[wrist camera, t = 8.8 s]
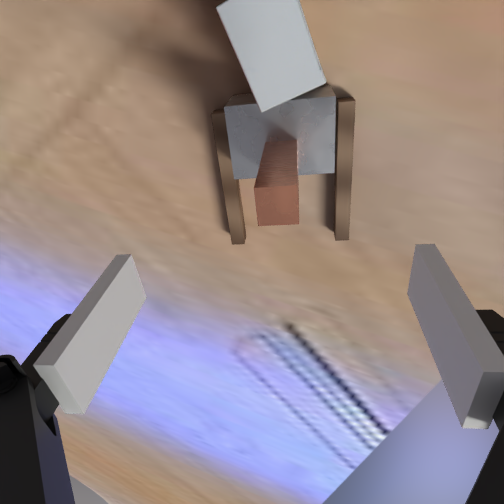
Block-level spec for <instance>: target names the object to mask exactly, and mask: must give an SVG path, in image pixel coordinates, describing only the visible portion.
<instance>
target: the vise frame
mask: <svg viewBox="0 0 504 504" xmlns="http://www.w3.org/2000/svg"><path fill="white" fill-rule="evenodd" d="M211 118H212V124H213V130H214V136H215V142H216V149H217V155H218V161H219V167H220V173H221V179H222V186H223V192H224V198H225V204H226V210H227V216H228V223H229V229H230V235H231V241H232V244H244V243H245V239H246V231H245V224H244V216H243V209H242V202H241V194H240V187H239V179H234V175H233V168H232V161H231V154H230V147H229V140H228V133H227V126H226V119H225V112H224V109H222V110H214V111H213V113H212V114H211ZM354 122H355V99H354V98H353V97H349V98H338V99H337V114H336V162H335V209H334V235H335V241H338V240H349V226H350V205H351V184H352V164H353V143H354Z"/></svg>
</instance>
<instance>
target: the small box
mask: <svg viewBox="0 0 504 504" xmlns="http://www.w3.org/2000/svg"><path fill="white" fill-rule="evenodd" d="M216 11H217V13H218V15H219V17H220V20H221V22H222V24H223V27H224V29H225V31H226V34H227V36H228V38H229V40H230V43H231V45H232V47H233V50H234V52H235V54H236V57H237V59H238V61H239V63H240V66H241V68H242V70H243V73H244V75H245V77H246V80H247V82H248V84H249V86H250V89H251V91H252V93H253V96H254V98H255V100H256V103H257V105H258V107H259V110H260V112H264V111H266V110H269V109H271V108H273V107H275V106H277V105H280V104H282V103H284V102H286V101H288V100H290V99H293V98H295V97H297V96H299V95H301V94H304V93H306V92H308V91H310V90H312V89H314V88H316V87H319V86H321V85H323V84H325V83H326V78H325V76H324V73H323V70H322V68H321V65H320V62H319V59H318V56H317V53H316V50H315V47H314V44H313V41H312V38H311V35H310V32H309V29H308V26H307V22H306V19H305V16H304V13H303V10H302V7H301V4H300V1H299V0H226V1H225V2H223V3H222V4H220V5H218V6H217V7H216Z"/></svg>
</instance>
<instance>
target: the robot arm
mask: <svg viewBox="0 0 504 504" xmlns="http://www.w3.org/2000/svg"><path fill="white" fill-rule="evenodd" d="M407 294H408V296H409V299H410V301H411V304H412V306H413V309H414V311H415V314H416V316H417V318H418V321H419V323H420V326H421V328H422V331H423V333H424V336H425V338H426V341H427V343H428V346H429V348H430V350H431V353H432V355H433V358H434V360H435V363H436V365H437V368H438V370H439V373H440V375H441V377H442V380H443V382H444V385H445V387H446V390H447V392H448V395H449V397H450V399H451V402H452V404H453V407H454V409H455V412H456V414H457V417H458V419H459V421H460V424H461V427H462V428H474V429H488V428H489V426H490V424H491V422H492V420H493V419H494V421H495V423H496V425H497V427H498V429H499V433H498V435H497V438H496V440H495V442H494V444H493V446H492V448H491V450H490V452H489V454H488V456H487V459H486V461H485V463H484V465H483V467H482V469H481V471H480V474H479V476H478V478H477V480H476V482H475V484H474V486H473V488H472V490H471V492H470V494H469V497H468V499H467V501H466V503H465V504H504V318H503V317H501V316H500V315H499V314H497V313H496V312H495V311H493V310H475V309H474V307H473V305H472V304H471V302H470V301H469V299H468V297H467V296H466V294H465V292H464V291H463V289H462V288H461V286H460V284H459V283H458V281H457V279H456V278H455V276H454V275H453V273H452V271H451V270H450V268H449V267H448V265H447V263H446V262H445V260H444V258H443V257H442V255H441V254H440V252H439V250H438V249H437V247H436V246H435V244H418V245H416V246H415V252H414V258H413V264H412V269H411V275H410V281H409V287H408V293H407ZM146 298H147V297H146V294H145V292H144V289H143V286H142V283H141V280H140V277H139V275H138V272H137V269H136V266H135V263H134V260H133V257H132V255H131V254H126V255H116V256H115V258H114V259H113V260H112V262H111V263H110V264H109V266H108V267H107V268H106V270H105V271H104V272H103V274H102V275H101V276H100V278H99V279H98V280H97V281H96V283H95V284H94V285H93V287H92V288H91V289H90V291H89V292H88V293H87V295H86V296H85V297H84V299H83V300H82V301H81V303H80V304H79V305H78V306H77V308H76V309H75V310H74V312H73V313H72V314H66V315H64V316H63V317H62V318H60V319H59V320H58V321H56V322H55V323H54V324H53V326H52V327H51V328H50V329H49V331H48V332H47V334H45V336H44V337H43V338H42V340H41V342H39V343H38V345H37V346H36V347H35V348H34V350H33V351H32V352H31V353H30V355H29V356H28V357H27V358H26V360H25V361H24V362H23V363H22V365H21V366H20V364H19V363H18V361H17V360H16V359H15V357H14V356H12V355H1V356H0V504H75V501H74V496H73V491H72V487H71V483H70V477H69V473H68V468H67V463H66V459H65V454H64V449H63V444H62V440H61V435H60V430H59V426H58V421H57V418H56V416H55V414H54V412H55V410H56V408H57V407H58V405H60V406H61V408H62V409H63V411H64V412H65V414H85V412H86V410H87V408H88V406H89V404H90V402H91V400H92V399H93V397H94V395H95V393H96V391H97V389H98V387H99V386H100V384H101V382H102V380H103V378H104V376H105V374H106V372H107V371H108V369H109V367H110V365H111V363H112V361H113V359H114V358H115V356H116V354H117V352H118V350H119V348H120V346H121V344H122V343H123V341H124V339H125V337H126V335H127V333H128V331H129V329H130V328H131V326H132V324H133V322H134V320H135V318H136V316H137V315H138V313H139V311H140V309H141V307H142V305H143V303H144V301H145V300H146Z"/></svg>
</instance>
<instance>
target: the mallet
mask: <svg viewBox="0 0 504 504" xmlns="http://www.w3.org/2000/svg"><path fill="white" fill-rule="evenodd" d="M224 112H225V119H226V126H227V133H228V140H229V147H230V154H231V161H232V168H233V175H234V179H248V178H256V181H255V185H254V193H255V202H256V211H257V220H258V226H268V225H291V224H299V189H298V175H310V174H325V173H334V168H335V117H336V95H335V93H334V91H333V90H332V88H331V86H330V85H329V86H319V87H316V88H314V89H312V90H310V91H308V92H306V93H304V94H301V95H299V96H297V97H295V98H293V99H290V100H288V101H286V102H284V103H282V104H280V105H277V106H275V107H273V108H271V109H269V110H266V111H264V112H260V110H259V107H258V105H257V103H256V100H255V98H254V96H253V93H250V94H240V95H233V96H232V97H231V99H230V100H229V101H228V102H227V103H226V105H225V106H224Z"/></svg>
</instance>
